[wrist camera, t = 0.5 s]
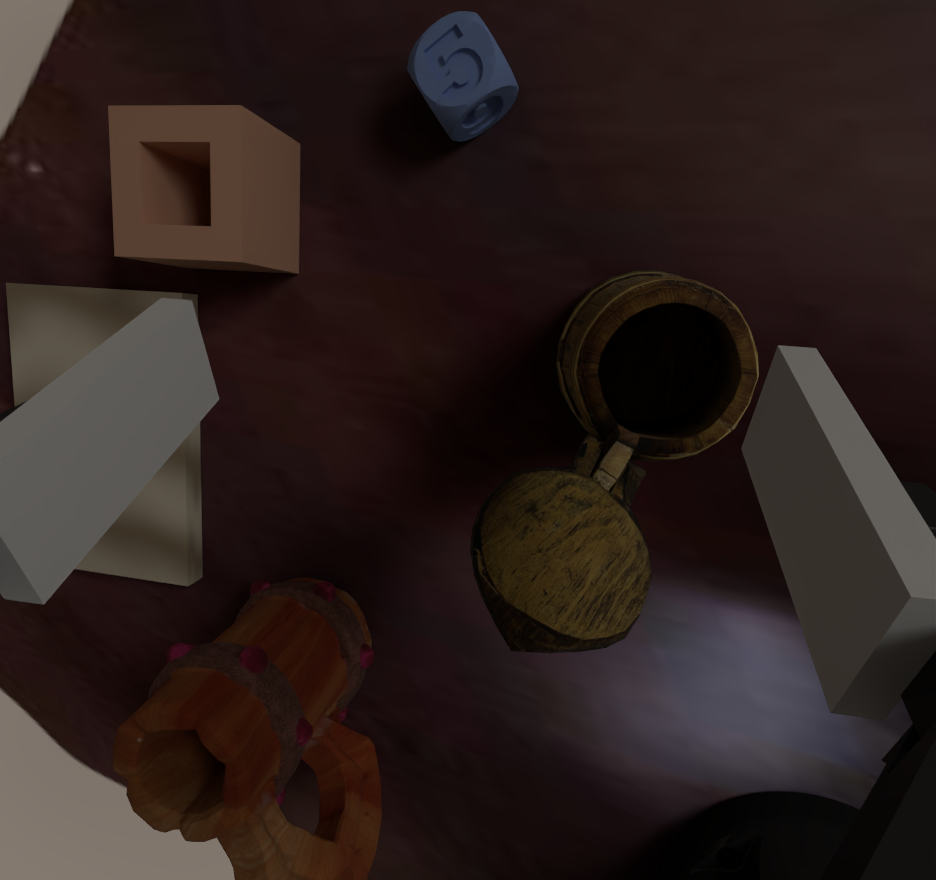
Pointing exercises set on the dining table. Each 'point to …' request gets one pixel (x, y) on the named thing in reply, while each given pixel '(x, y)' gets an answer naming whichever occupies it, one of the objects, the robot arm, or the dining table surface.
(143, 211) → the bead
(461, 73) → the decorative dice
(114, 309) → the peg stand
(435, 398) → the dining table surface
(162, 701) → the mug
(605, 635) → the wooden mug
